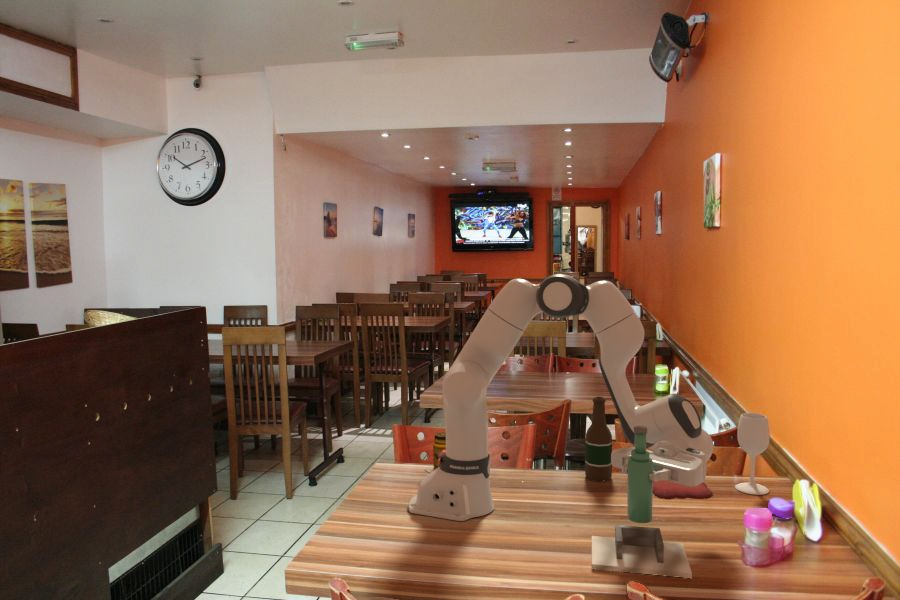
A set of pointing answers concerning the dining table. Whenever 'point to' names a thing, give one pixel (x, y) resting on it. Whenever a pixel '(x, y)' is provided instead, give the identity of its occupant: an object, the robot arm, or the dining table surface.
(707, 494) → the patty
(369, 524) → the dining table surface
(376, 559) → the dining table surface
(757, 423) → the wineglass
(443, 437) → the condiment
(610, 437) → the beer bottle
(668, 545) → the bottle stand
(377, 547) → the dining table surface
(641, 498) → the bottle
